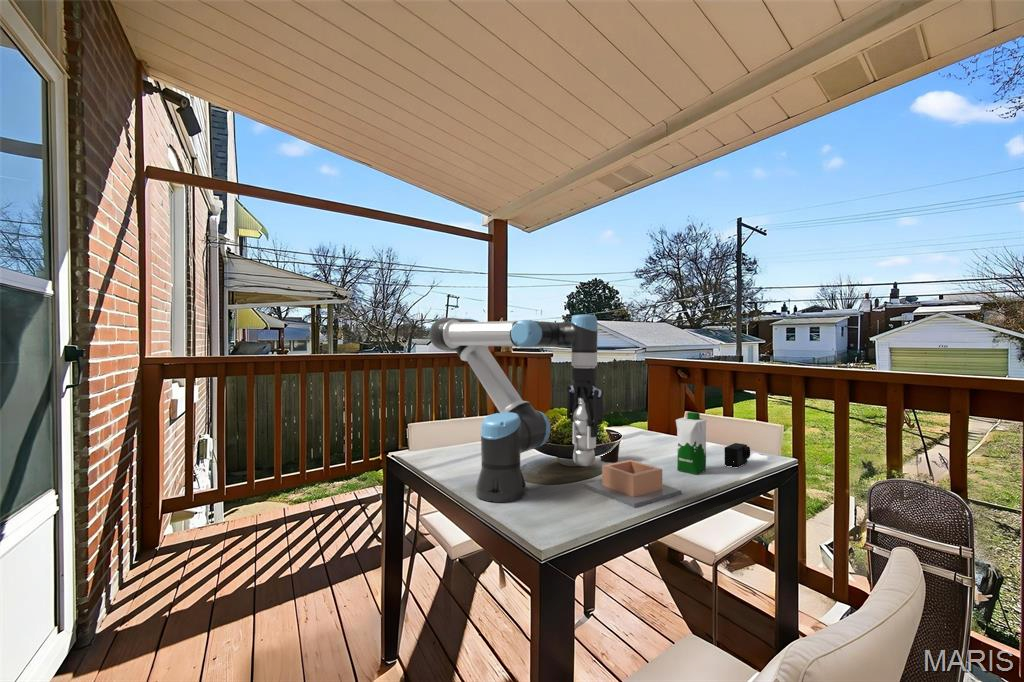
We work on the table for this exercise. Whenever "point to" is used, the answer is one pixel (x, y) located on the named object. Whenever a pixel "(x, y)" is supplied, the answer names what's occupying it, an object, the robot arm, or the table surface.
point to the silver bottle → (582, 437)
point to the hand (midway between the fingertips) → (584, 445)
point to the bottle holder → (632, 483)
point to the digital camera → (736, 454)
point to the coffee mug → (611, 454)
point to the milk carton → (691, 443)
